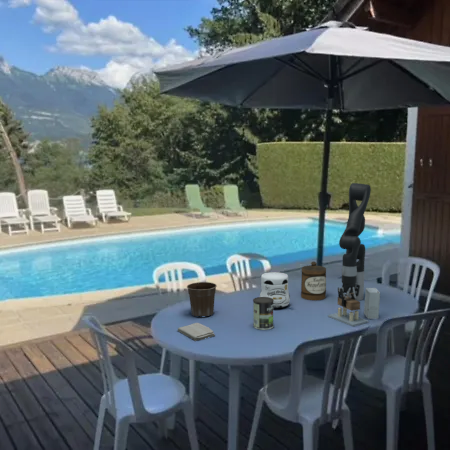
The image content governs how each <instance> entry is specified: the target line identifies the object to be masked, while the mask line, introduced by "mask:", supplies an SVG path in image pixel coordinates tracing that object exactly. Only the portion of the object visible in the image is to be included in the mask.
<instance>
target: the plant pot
mask: <svg viewBox="0 0 450 450" xmlns="http://www.w3.org/2000/svg"><path fill="white" fill-rule="evenodd" d="M217 287H218V286H217V284H216V283H214V282H208V281H199V282H193V283H190V284H188V285H187V286H186V288H187V292H188V293H187V294H188V296H189V304H190V311H191V313H190V314H191V316H193V315H194V316H193V317H195V316H200V317H201V316H209V315H211V316H213V315H214V313H215V296H216V295H215V294H216V288H217ZM212 314H213V315H212ZM209 317H210V316H209Z"/></svg>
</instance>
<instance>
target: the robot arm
mask: <svg viewBox="0 0 450 450" xmlns="http://www.w3.org/2000/svg"><path fill="white" fill-rule="evenodd" d="M371 190H372V188H371V185H370V184H366V183H358V182H354V183H353V182H352V183H351V184H350V185H349V189H348V208H349V209H348V218H347V222H346V226H345V229H344V231H343V233H341V234H342V235H341V236H340V237H339V240H338V241H339V242H338V245H339V247H340V248H341V250H342V249H343V250H345V254H343V255H342V263H341V264H342V266H341V283H342V285H341V287H337V296H338V297H339V298H340V299H342V306H343V307H346V298H347V297H350V298H352V299H354V300H357V301H362V300H364V298H365V295H364V294H365V258H366V245H365V244H364V243H361V242H362V241H361V238H360V237H359V236H361V234H362V233H363V232H364V231H365V227H366V217H365V215H364V214H365V213H366V209H367V206H368V203H369V200H370V198H371ZM357 201H359V202H360V204H359V205H358V203H357ZM357 260H358V261H357ZM344 296H345V297H344ZM342 306H341V307H342ZM343 307H342V308H343Z"/></svg>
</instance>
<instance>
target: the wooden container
mask: <svg viewBox="0 0 450 450" xmlns="http://www.w3.org/2000/svg"><path fill="white" fill-rule="evenodd" d="M317 264H318V263H317V262H316V261H311V262H310V265H304V266H302V267H301V283H300V290H301V292H300V297H301V298H302V299H304V300H307V301H323V300H325V299H326V298H327V268H326V267H324V266H323V265H317Z"/></svg>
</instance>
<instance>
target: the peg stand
mask: <svg viewBox="0 0 450 450" xmlns="http://www.w3.org/2000/svg"><path fill="white" fill-rule="evenodd" d="M359 312H360V310H359V311H358V310H354V312H353V311H350V312H348V309H347V308H344V307H338V308H337V312H335V313H331V314H328V315H327V316H328V318H331V319H333V320H335V321H337V322H340V323H343V324H346V325H348V326H350V327H357V326H361V325H364V324H368V323H369V320H368V319H365V318H362V317H359V316H360V315H359Z"/></svg>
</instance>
